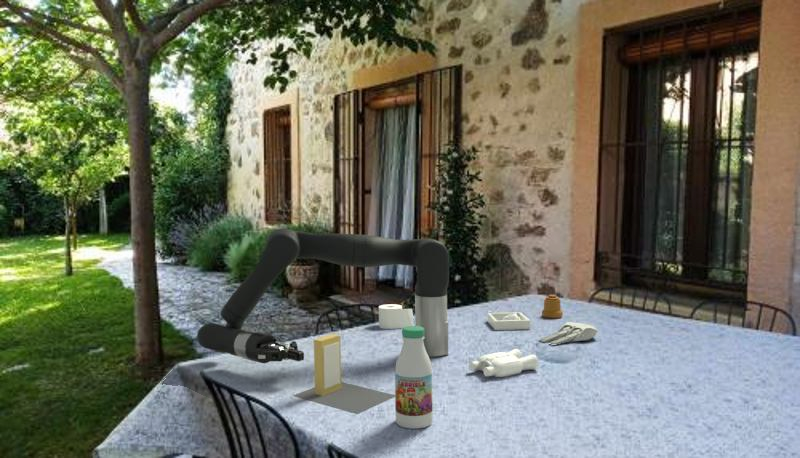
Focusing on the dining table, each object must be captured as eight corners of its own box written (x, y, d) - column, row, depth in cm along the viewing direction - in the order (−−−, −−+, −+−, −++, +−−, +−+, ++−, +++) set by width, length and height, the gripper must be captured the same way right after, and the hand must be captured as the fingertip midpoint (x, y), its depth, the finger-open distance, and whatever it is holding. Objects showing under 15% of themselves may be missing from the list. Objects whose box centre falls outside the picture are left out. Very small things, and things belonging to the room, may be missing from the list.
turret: (535, 348, 194) (533, 333, 194) (581, 330, 204) (579, 316, 203) (557, 355, 186) (555, 340, 185) (604, 336, 195) (603, 322, 194)
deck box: (315, 393, 146) (313, 339, 145) (334, 386, 151) (332, 333, 150) (322, 396, 145) (321, 341, 144) (341, 388, 150) (340, 335, 149)
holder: (520, 320, 222) (520, 312, 221) (530, 329, 209) (530, 320, 208) (487, 321, 221) (487, 313, 221) (494, 330, 208) (494, 321, 208)
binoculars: (539, 372, 163) (539, 354, 163) (491, 382, 155) (491, 364, 155) (512, 362, 172) (512, 345, 172) (466, 372, 164) (466, 354, 163)
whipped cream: (515, 331, 210) (516, 318, 209) (497, 327, 213) (498, 314, 212) (524, 325, 216) (525, 312, 215) (505, 321, 220) (506, 308, 219)
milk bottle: (394, 416, 133) (393, 324, 131) (430, 414, 133) (429, 323, 132) (397, 430, 125) (395, 333, 123) (435, 429, 126) (434, 331, 124)
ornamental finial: (559, 314, 231) (564, 318, 224) (539, 314, 231) (544, 319, 224) (560, 293, 231) (565, 296, 223) (539, 293, 231) (544, 297, 223)
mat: (292, 397, 145) (292, 395, 145) (333, 381, 156) (333, 379, 156) (357, 415, 133) (357, 413, 133) (397, 397, 144) (396, 395, 144)
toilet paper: (413, 327, 213) (413, 307, 213) (381, 329, 211) (381, 309, 210) (408, 322, 221) (407, 303, 221) (376, 324, 219) (376, 304, 218)
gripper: (275, 354, 168) (321, 365, 158) (235, 366, 158) (281, 378, 147) (274, 327, 168) (320, 336, 157) (234, 337, 157) (280, 347, 147)
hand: (301, 356), depth 152 cm, fingers closed
